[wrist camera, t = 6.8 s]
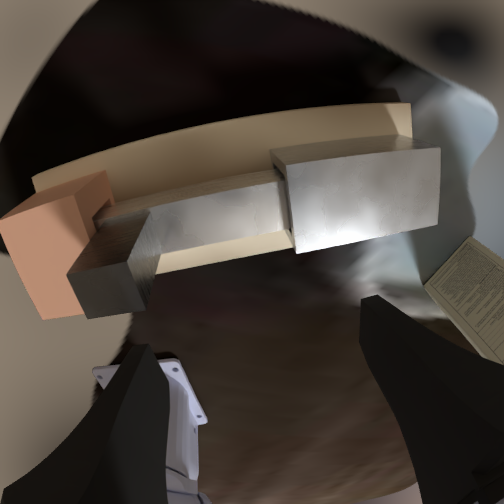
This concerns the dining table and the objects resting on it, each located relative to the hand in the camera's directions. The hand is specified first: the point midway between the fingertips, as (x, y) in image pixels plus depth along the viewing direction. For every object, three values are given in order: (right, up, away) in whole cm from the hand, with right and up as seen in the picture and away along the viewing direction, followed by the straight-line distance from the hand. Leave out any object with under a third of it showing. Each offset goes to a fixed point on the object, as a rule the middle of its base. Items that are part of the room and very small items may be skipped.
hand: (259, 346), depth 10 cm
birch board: (-2, +7, +8) cm, 11 cm away
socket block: (-10, +5, +7) cm, 13 cm away
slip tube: (-4, +5, +6) cm, 9 cm away
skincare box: (+17, +1, +13) cm, 22 cm away
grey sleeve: (+5, +8, +8) cm, 12 cm away
